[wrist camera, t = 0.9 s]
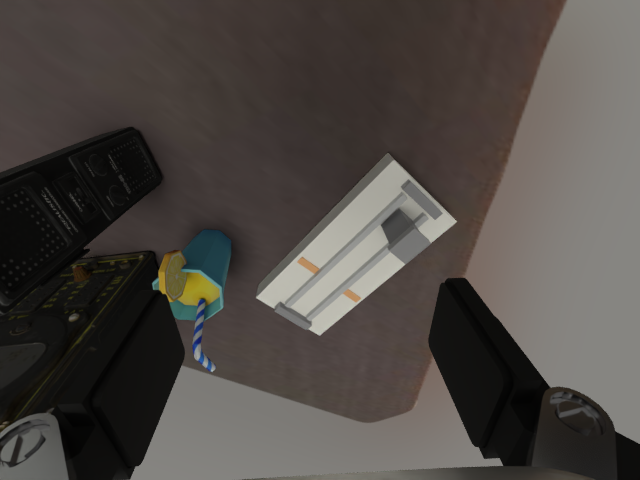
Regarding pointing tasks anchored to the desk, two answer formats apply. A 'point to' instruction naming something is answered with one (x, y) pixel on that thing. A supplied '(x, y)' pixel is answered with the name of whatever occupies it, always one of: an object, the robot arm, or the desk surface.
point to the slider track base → (350, 249)
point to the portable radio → (66, 207)
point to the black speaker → (64, 329)
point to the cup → (196, 282)
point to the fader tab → (403, 236)
